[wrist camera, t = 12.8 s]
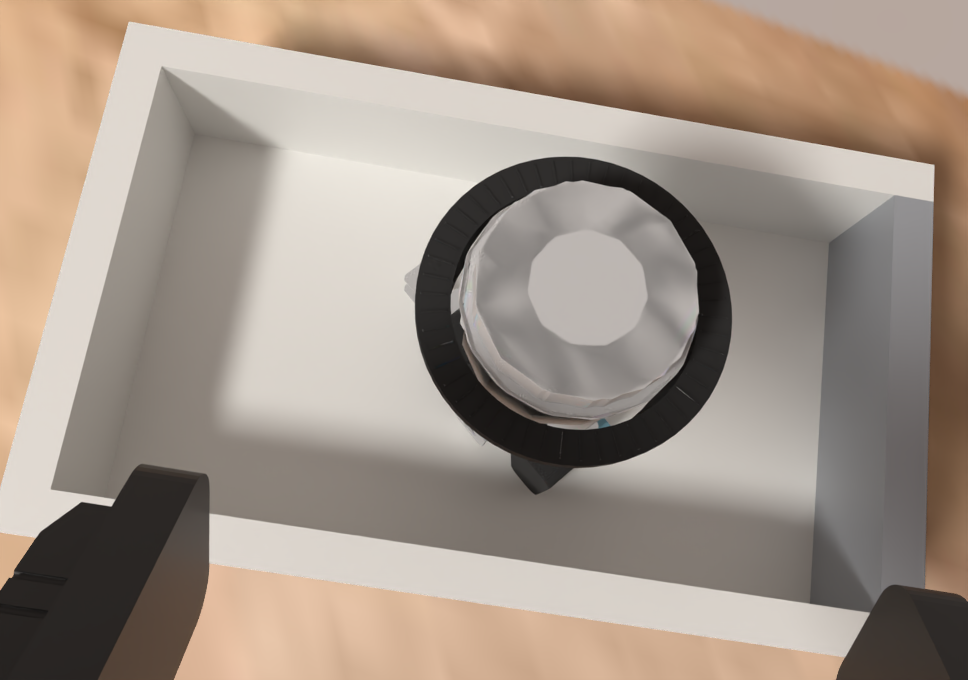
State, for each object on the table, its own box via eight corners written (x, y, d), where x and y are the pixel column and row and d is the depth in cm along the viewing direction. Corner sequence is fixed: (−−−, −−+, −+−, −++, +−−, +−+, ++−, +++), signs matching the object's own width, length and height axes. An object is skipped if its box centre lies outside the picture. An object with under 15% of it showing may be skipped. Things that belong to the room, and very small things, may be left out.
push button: (337, 343, 23) (291, 195, 14) (491, 226, 25) (549, 12, 15) (500, 543, 23) (572, 534, 13) (651, 411, 24) (822, 313, 14)
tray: (847, 228, 27) (934, 165, 22) (827, 648, 24) (923, 668, 19) (175, 112, 26) (129, 21, 21) (68, 535, 23) (-12, 530, 18)
